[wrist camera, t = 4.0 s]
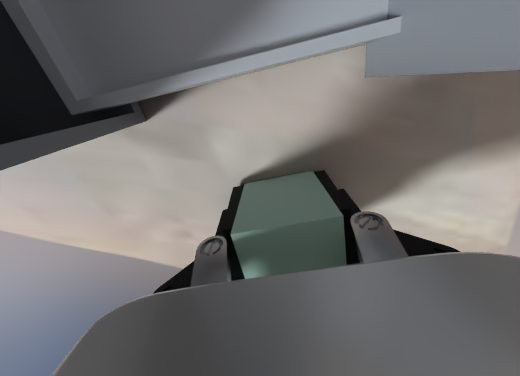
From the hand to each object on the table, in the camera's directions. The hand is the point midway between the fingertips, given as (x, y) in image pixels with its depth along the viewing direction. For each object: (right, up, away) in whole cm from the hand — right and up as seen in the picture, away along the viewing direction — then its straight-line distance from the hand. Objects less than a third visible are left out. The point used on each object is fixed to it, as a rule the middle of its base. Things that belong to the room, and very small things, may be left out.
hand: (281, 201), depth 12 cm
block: (0, -1, 0) cm, 1 cm away
